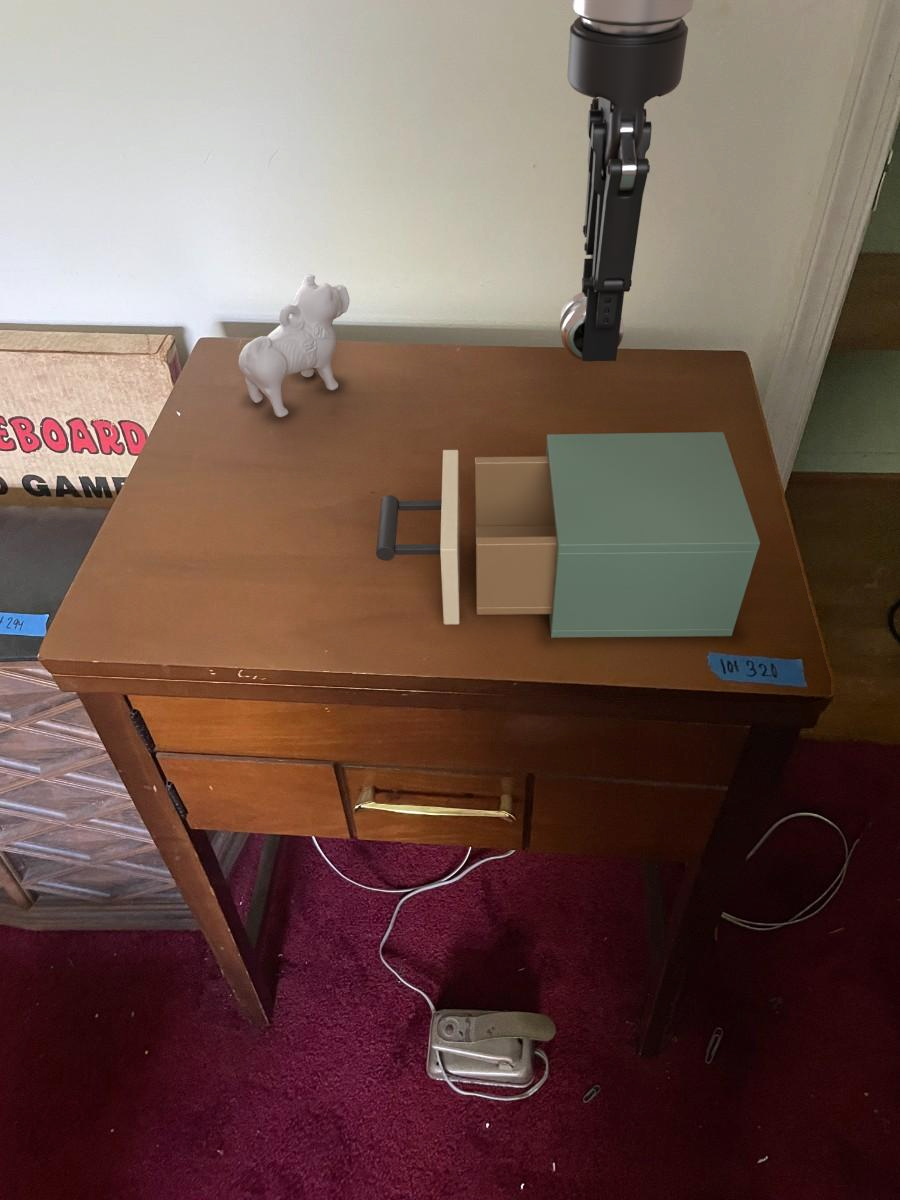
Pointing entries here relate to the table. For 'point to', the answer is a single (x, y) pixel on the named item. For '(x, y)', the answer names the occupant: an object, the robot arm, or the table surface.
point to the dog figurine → (296, 343)
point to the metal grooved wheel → (576, 325)
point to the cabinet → (648, 535)
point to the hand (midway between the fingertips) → (596, 345)
